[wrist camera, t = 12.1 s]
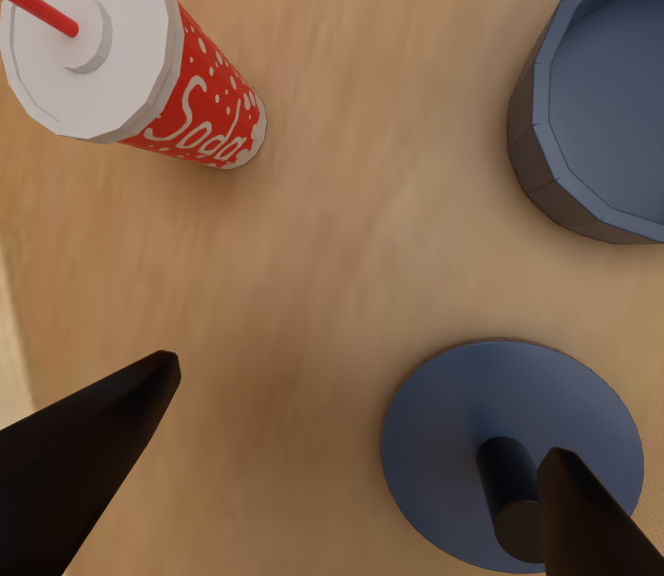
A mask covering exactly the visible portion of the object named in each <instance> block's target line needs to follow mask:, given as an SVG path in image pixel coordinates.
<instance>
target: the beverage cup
mask: <svg viewBox="0 0 664 576" xmlns="http://www.w3.org/2000/svg"><path fill="white" fill-rule="evenodd" d="M0 50H1V54H2V58H3V62H4V66H5V70H6V75H7V79H8V83H9V85H10V87H11V88H12V90H13V91H14V93H15V94H16V96H17V98H18V99H19V101H20V102H21V104H22V106H23V107H24V109H25V110H26V112H27V113H28V115H29V116H31V117H32V118H34V119H35V120H36V121H38V122H39V123H41V124H42V125H43V126H45V127H46V128H48V129H49V130H50V131H52V132H53V133H55V134H57V135H60V136H63V137H70V138H75V139H77V140H81V141H87V142H94V143H100V144H106V145H108V144H111V143H114V142H117V143H121V144H125V145H129V146H133V147H136V148H140V149H144V150H148V151H152V152H156V153H160V154H164V155H168V156H171V157H175V158H179V159H183V160H187V161H191V162H195V163H199V164H202V165H206V166H210V167H215V168H221V169H227V170H228V169H232V168H235V167H239V166H243V165H244V164H245V163H246V162H248V161H249V160H250V159H251V158H252V157H254V156H255V155H256V153H257V152H258V150H259V148H260V146H261V144H262V143H263V141H264V138H265V131H266V124H267V119H266V114H265V110H264V105H263V103H262V101H261V100H260V98H259V97H258V95H257V94H256V92H255V91H254V89H253V88H252V87H251V86H250V84H249V83H248V82H247V81H246V80H245V79H244V78H243V76H242V75H241V74H240V73H239V72H238V71H237V69H236V68H235V67H234V66H233V65H232V64H231V62H230V61H229V60H228V59H227V58H226V57H225V56H224V54H223V53H222V52H221V51H220V50H219V49H218V47H217V46H216V45H215V44H214V43H213V42H212V40H211V39H210V38H209V37H208V36H207V35H206V33H205V32H204V31H203V30H202V29H201V28H200V27H199V25H198V24H197V23H196V22H195V21H194V20H193V18H192V17H191V16H190V15H189V14H188V13H187V11H186V10H185V9H184V8H183V7H182V6H181V4H180V3H179V2H178V1H177V0H3V2H2V5H1V24H0Z"/></svg>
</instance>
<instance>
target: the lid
mask: <svg viewBox="0 0 664 576" xmlns="http://www.w3.org/2000/svg"><path fill="white" fill-rule="evenodd" d="M554 446H558V447H562V448H566V449H570V450H573V451H575V452H576V453H577V454H578V455H579V456H580V458H581V459H582V460H583V461H584V462H585V464H586V465H587V466H588V467H589V468H590V470H591V471H592V472H593V473H594V474H595V476H596V477H597V478H598V479H599V480H600V482H601V483H602V484H603V485H604V486H605V488H606V489H607V490H608V491H609V492H610V494H611V495H612V496H613V497H614V498H615V500H616V501H617V502H618V503H619V504H620V506H621V507H622V508H623V509H624V510H625V512H626V513H627V514H628V515H629V516H630V517H631V515H632V513H633V512H634V510H635V508H636V506H637V503H638V500H639V497H640V493H641V490H642V484H643V478H644V456H643V450H642V444H641V440H640V437H639V434H638V431H637V428H636V425H635V423H634V421H633V419H632V417H631V415H630V413H629V411H628V409H627V408H626V406H625V405H624V403H623V402H622V400H621V399H620V398H619V396H618V395H617V394H616V393H615V391H614V390H613V389H612V388H611V387H610V386H609V385H608V384H607V383H606V382H605V381H604V380H603V379H602V378H601V377H599V376H598V375H597V374H596V373H595V372H593V371H592V370H591V369H589V368H588V367H587V366H585V365H583V364H582V363H580V362H579V361H577V360H576V359H574V358H573V357H570V356H568V355H566V354H564V353H562V352H560V351H558V350H556V349H553V348H550V347H547V346H544V345H541V344H537V343H533V342H528V341H523V340H514V339H485V340H478V341H471V342H467V343H464V344H460V345H457V346H454V347H451V348H449V349H447V350H444V351H442V352H440V353H438V354H436V355H434V356H433V357H431V358H429V359H428V360H426V361H425V362H424V363H422V364H421V365H420V366H418V367H417V368H416V369H415V370H414V371H413V372H412V373H411V374H410V375H409V376H408V377H407V378H406V379H405V380H404V381H403V383H402V384H401V385H400V387H399V388H398V390H397V391H396V393H395V395H394V396H393V398H392V400H391V402H390V404H389V407H388V410H387V412H386V415H385V419H384V423H383V428H382V433H381V448H380V449H381V462H382V467H383V471H384V476H385V479H386V482H387V485H388V487H389V490H390V492H391V494H392V496H393V498H394V500H395V502H396V504H397V505H398V507H399V508H400V510H401V511H402V513H403V514H404V516H405V517H406V518H407V520H408V521H409V522H410V523H411V524H412V525H413V527H414V528H415V529H416V530H417V531H418V532H419V533H421V534H422V535H423V536H424V537H425V538H426V539H427V540H429V541H430V542H431V543H433V544H434V545H435V546H437V547H438V548H439V549H441V550H443V551H444V552H446V553H448V554H449V555H451V556H453V557H455V558H457V559H459V560H462V561H464V562H466V563H468V564H471V565H475V566H478V567H481V568H484V569H488V570H493V571H498V572H505V573H515V574H533V573H541V572H546V571H545V566H544V560H543V553H542V545H541V534H540V520H539V506H538V491H537V469H538V466H539V465H540V463H541V462H542V460H543V459H544V457H545V456H546V454H547V453H548V452H549V450H550V449H551V448H552V447H554Z"/></svg>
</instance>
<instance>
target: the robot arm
mask: <svg viewBox="0 0 664 576" xmlns="http://www.w3.org/2000/svg"><path fill="white" fill-rule="evenodd" d="M180 381H181V372H180V366H179V360H178V356H177V354H176V353H174V352H170V351H166V350H159V351H156V352H154V353H152V354H150V355H148V356H146V357H144V358H142V359H140V360H138V361H136V362H135V363H133V364H131V365H129V366H127V367H125V368H123V369H121V370H119V371H117V372H115V373H113V374H111V375H109V376H107V377H105V378H103V379H101V380H99V381H97V382H95V383H93V384H91V385H89V386H87V387H85V388H83V389H81V390H79V391H77V392H75V393H73V394H71V395H69V396H67V397H65V398H63V399H61V400H59V401H57V402H55V403H53V404H51V405H49V406H47V407H45V408H44V409H42V410H40V411H38V412H36V413H34V414H32V415H30V416H28V417H26V418H24V419H22V420H20V421H18V422H16V423H14V424H12V425H10V426H8V427H6V428H4V429H2V430H0V576H62V574H63V573H64V571H65V570H66V568H67V567H68V565H69V564H70V562H71V561H72V559H73V558H74V556H75V555H76V553H77V552H78V550H79V548H80V547H81V545H82V544H83V542H84V541H85V539H86V538H87V536H88V535H89V533H90V532H91V530H92V529H93V527H94V526H95V524H96V523H97V521H98V519H99V518H100V516H101V515H102V513H103V512H104V510H105V509H106V507H107V506H108V504H109V503H110V501H111V500H112V498H113V497H114V495H115V493H116V492H117V490H118V489H119V487H120V486H121V484H122V483H123V481H124V480H125V478H126V477H127V475H128V474H129V472H130V471H131V469H132V468H133V466H134V464H135V463H136V461H137V460H138V458H139V457H140V455H141V454H142V452H143V451H144V449H145V448H146V446H147V444H148V443H149V441H150V440H151V438H152V436H153V434H154V432H155V431H156V429H157V427H158V425H159V423H160V421H161V419H162V417H163V415H164V413H165V411H166V409H167V407H168V406H169V404H170V402H171V400H172V398H173V396H174V394H175V392H176V390H177V388H178V386H179V384H180ZM537 491H538V506H539V520H540V534H541V545H542V553H543V560H544V566H545V571H546V576H664V557H663V556H662V555H661V554H660V552H659V551H658V550H657V549H656V548H655V546H654V545H653V544H652V543H651V542H650V540H649V539H648V538H647V537H646V536H645V534H644V533H643V532H642V531H641V530H640V528H639V527H638V526H637V525H636V524H635V522H634V521H633V520H632V519H631V518H630V516H629V515H628V514H627V513H626V512H625V510H624V509H623V508H622V507H621V506H620V504H619V503H618V502H617V501H616V500H615V498H614V497H613V496H612V495H611V494H610V492H609V491H608V490H607V489H606V488H605V486H604V485H603V484H602V483H601V482H600V480H599V479H598V478H597V477H596V476H595V474H594V473H593V472H592V471H591V470H590V468H589V467H588V466H587V465H586V464H585V462H584V461H583V460H582V459H581V458H580V456H579V455H578V454H577V453H576V452H575V451H573V450H570V449H566V448H562V447H558V446H554V447H552V448H551V449H550V450H549V452H548V453H547V454H546V456H545V457H544V459H543V460H542V462H541V463H540V465H539V466H538V469H537Z"/></svg>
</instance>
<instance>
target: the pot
mask: <svg viewBox="0 0 664 576" xmlns="http://www.w3.org/2000/svg"><path fill="white" fill-rule="evenodd" d="M507 142H508V149H509V154H510V159H511V162H512V165H513V168H514V171H515V174H516V176H517V178H518V180H519V182H520V184H521V186H522V188H523V189H524V191H525V192H526V193H527V195H528V196H529V198H530V199H531V200H532V201H533V202H534V203H535V204H536V206H537V207H538V208H539V209H540V210H541V211H542V212H544V213H545V214H546V215H547V216H549V217H550V218H551V219H552V220H554V221H555V222H557V223H559V224H560V225H561V226H564V227H565V228H567V229H569V230H571V231H574V232H576V233H578V234H581V235H583V236H586V237H590V238H593V239H597V240H601V241H605V242H608V243H610V244H664V0H561V1H560V2H559V3H558V5H557V7H556V9H555V10H554V12H553V14H552V16H551V17H550V19H549V21H548V23H547V24H546V26H545V28H544V30H543V31H542V33H541V35H540V37H539V38H538V40H537V42H536V43H535V45H534V47H533V49H532V50H531V52H530V54H529V57H528V59H527V61H526V64H525V66H524V68H523V71H522V73H521V75H520V77H519V78H518V81H517V84H516V86H515V89H514V91H513V94H512V96H511V98H510V107H509V112H508V122H507Z"/></svg>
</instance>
